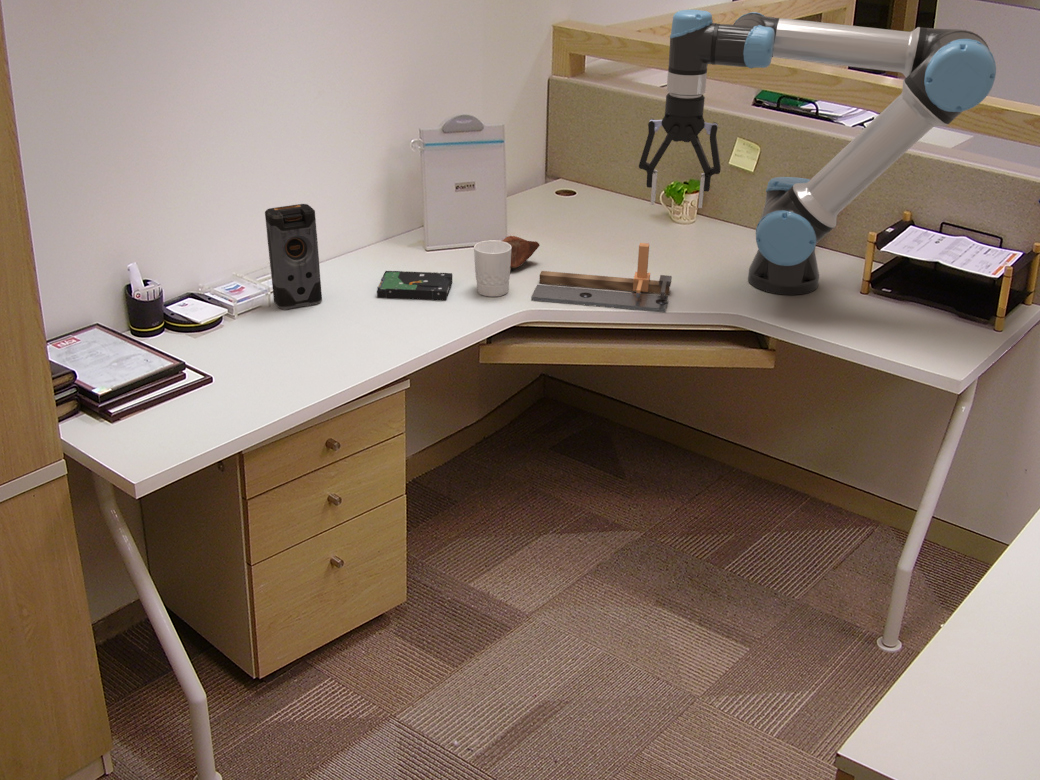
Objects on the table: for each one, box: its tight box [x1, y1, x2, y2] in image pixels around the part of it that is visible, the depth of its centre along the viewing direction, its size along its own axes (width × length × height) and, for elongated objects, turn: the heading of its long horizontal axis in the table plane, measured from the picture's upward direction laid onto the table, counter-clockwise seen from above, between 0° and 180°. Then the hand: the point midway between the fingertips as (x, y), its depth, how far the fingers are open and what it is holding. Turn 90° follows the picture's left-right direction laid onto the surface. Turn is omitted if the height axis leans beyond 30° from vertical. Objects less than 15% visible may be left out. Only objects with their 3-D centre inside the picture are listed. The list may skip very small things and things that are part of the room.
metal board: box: [530, 284, 669, 313], centre depth 226 cm, size 28×7×1 cm, turn 79°
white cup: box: [473, 239, 512, 298], centre depth 228 cm, size 8×8×10 cm
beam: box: [539, 270, 673, 300], centre depth 229 cm, size 28×10×3 cm, turn 79°
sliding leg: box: [633, 242, 651, 298], centre depth 226 cm, size 3×10×10 cm, turn 169°
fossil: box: [501, 235, 540, 269], centre depth 241 cm, size 13×8×10 cm
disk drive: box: [376, 270, 453, 301], centre depth 230 cm, size 10×3×15 cm
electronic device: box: [264, 203, 323, 311], centre depth 219 cm, size 9×6×20 cm, turn 117°
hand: (676, 204), depth 222 cm, fingers open, 9 cm apart
